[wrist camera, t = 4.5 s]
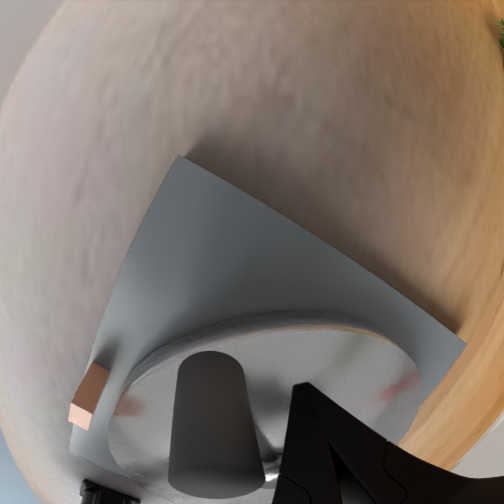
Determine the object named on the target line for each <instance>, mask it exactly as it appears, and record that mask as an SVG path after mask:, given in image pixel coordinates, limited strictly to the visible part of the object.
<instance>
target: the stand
mask: <svg viewBox="0 0 504 504" xmlns="http://www.w3.org/2000/svg"><path fill="white" fill-rule="evenodd" d="M281 310H318V311H327V312H336V313H340V314H344V315H348V316H352V317H356V318H358V319H361V320H363V321H365V322H368V323H370V324H372V325H374V326H375V327H377V328H378V329H380V330H381V331H383V332H384V333H385V334H386V335H387V336H388V337H390V338H391V339H392V340H393V341H394V342H395V343H396V344H397V345H398V346H399V347H400V348H401V349H402V350H403V351H404V352H405V353H406V354H407V355H408V356H409V357H410V358H411V359H412V361H413V362H414V363H415V365H416V367H417V368H418V370H419V372H420V376H421V381H422V396H421V401H420V405H421V404H422V403H423V402H424V401H425V400H426V398H427V397H428V396H429V395H430V394H431V392H432V391H433V390H434V389H435V388H436V386H437V385H438V384H439V383H440V381H441V380H442V379H443V378H444V376H445V375H446V374H447V372H448V371H449V370H450V368H451V367H452V366H453V364H454V363H455V361H456V360H457V359H458V357H459V356H460V354H461V353H462V351H463V350H464V348H465V347H466V345H467V343H465V342H464V341H463V340H462V339H460V338H459V337H458V336H456V335H455V334H454V333H453V332H451V331H450V330H449V329H447V328H446V327H445V326H444V325H442V324H441V323H440V322H438V321H437V320H436V319H434V318H433V317H432V316H430V315H429V314H428V313H426V312H425V311H424V310H422V309H421V308H420V307H418V306H417V305H416V304H414V303H413V302H412V301H410V300H409V299H407V298H406V297H405V296H403V295H402V294H401V293H399V292H398V291H396V290H395V289H394V288H392V287H391V286H389V285H388V284H387V283H385V282H384V281H382V280H381V279H379V278H378V277H377V276H375V275H374V274H372V273H371V272H369V271H368V270H366V269H365V268H363V267H362V266H361V265H359V264H358V263H356V262H355V261H353V260H352V259H350V258H349V257H347V256H346V255H344V254H343V253H341V252H340V251H338V250H337V249H335V248H334V247H332V246H331V245H329V244H328V243H326V242H324V241H323V240H321V239H320V238H318V237H317V236H315V235H314V234H312V233H310V232H309V231H307V230H306V229H304V228H303V227H301V226H299V225H298V224H296V223H295V222H293V221H291V220H290V219H288V218H287V217H285V216H283V215H282V214H280V213H279V212H277V211H275V210H274V209H272V208H270V207H269V206H267V205H265V204H264V203H262V202H260V201H259V200H257V199H255V198H254V197H252V196H250V195H249V194H247V193H245V192H244V191H242V190H240V189H239V188H237V187H235V186H233V185H232V184H230V183H228V182H226V181H225V180H223V179H221V178H219V177H218V176H216V175H214V174H212V173H211V172H209V171H207V170H205V169H204V168H202V167H200V166H198V165H196V164H195V163H193V162H191V161H189V160H187V159H185V158H184V157H182V156H180V155H178V156H177V158H176V159H175V161H174V163H173V165H172V166H171V168H170V170H169V172H168V173H167V175H166V177H165V179H164V181H163V182H162V184H161V186H160V188H159V190H158V192H157V194H156V196H155V197H154V199H153V201H152V203H151V205H150V207H149V209H148V211H147V213H146V215H145V217H144V219H143V221H142V223H141V225H140V227H139V229H138V232H137V234H136V236H135V238H134V240H133V242H132V245H131V247H130V249H129V251H128V254H127V256H126V258H125V260H124V263H123V265H122V267H121V270H120V272H119V275H118V277H117V280H116V282H115V285H114V287H113V290H112V292H111V295H110V298H109V300H108V303H107V306H106V308H105V311H104V314H103V317H102V320H101V323H100V325H99V328H98V331H97V334H96V338H95V341H94V344H93V347H92V350H91V354H90V357H89V361H88V364H87V368H86V371H85V375H84V378H83V380H82V382H81V384H80V386H79V388H78V390H77V392H76V394H75V396H74V398H73V400H72V402H71V407H70V412H69V418H68V421H70V422H72V423H73V429H72V434H71V440H70V447H69V452H70V453H72V454H74V455H76V456H78V457H80V458H82V459H84V460H86V461H88V462H90V463H93V464H95V465H97V466H99V467H102V468H104V469H107V470H109V471H112V472H114V473H117V474H119V475H122V476H125V477H128V478H130V477H129V476H128V475H126V474H125V473H124V472H123V470H122V469H121V468H120V467H119V465H118V464H117V463H116V461H115V459H114V457H113V455H112V454H111V451H110V447H109V444H108V427H109V423H110V419H111V416H112V413H113V410H114V407H115V404H116V401H117V398H118V395H119V392H120V389H121V388H122V386H123V384H124V382H125V381H126V379H127V377H128V376H129V375H130V374H131V372H132V371H133V370H134V369H135V368H136V367H137V366H138V364H139V363H141V362H142V361H143V360H144V359H146V358H147V357H148V356H149V355H150V354H152V353H153V352H154V351H156V350H157V349H159V348H161V347H162V346H164V345H166V344H167V343H169V342H171V341H172V340H174V339H176V338H178V337H181V336H183V335H185V334H187V333H190V332H192V331H194V330H196V329H199V328H202V327H205V326H208V325H211V324H214V323H217V322H221V321H224V320H227V319H232V318H236V317H241V316H246V315H250V314H255V313H263V312H272V311H281Z"/></svg>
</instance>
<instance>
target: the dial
mask: <svg viewBox="0 0 504 504" xmlns="http://www.w3.org/2000/svg"><path fill="white" fill-rule="evenodd" d="M302 382H310V383H311V384H312V385H314V386H315V387H316V388H317V389H319V390H320V391H321V392H323V393H324V394H325V395H326V396H328V397H329V398H330V399H332V400H333V401H334V402H336V403H337V404H338V405H340V406H341V407H342V408H344V409H345V410H346V411H348V412H349V413H350V414H352V415H353V416H355V417H356V418H357V419H359V420H360V421H361V422H363V423H364V424H366V425H367V426H369V427H370V428H371V429H373V430H374V431H376V432H377V433H379V434H380V435H381V436H383V437H384V438H386V439H387V441H391V442H392V443H393V444H395V445H397V444H398V443H399V442H400V441H401V439H402V438H403V437H404V435H405V434H406V432H407V431H408V429H409V428H410V426H411V424H412V422H413V421H414V419H415V417H416V414H417V411H418V409H419V406H420V401H421V396H422V381H421V376H420V372H419V370H418V368H417V367H416V365H415V363H414V362H413V361H412V359H411V358H410V357H409V356H408V355H407V354H406V353H405V352H404V351H403V350H402V349H401V348H400V347H399V346H398V345H397V344H396V343H395V342H394V341H393V340H392V339H391V338H390V337H388V336H387V335H386V334H385V333H384V332H383V331H381V330H380V329H378V328H377V327H375V326H374V325H372V324H370V323H368V322H365V321H363V320H361V319H358V318H356V317H352V316H348V315H344V314H340V313H336V312H327V311H318V310H281V311H272V312H263V313H255V314H250V315H246V316H241V317H236V318H232V319H227V320H224V321H221V322H217V323H214V324H211V325H208V326H205V327H202V328H199V329H196V330H194V331H192V332H190V333H187V334H185V335H183V336H181V337H178V338H176V339H174V340H172V341H171V342H169V343H167V344H166V345H164V346H162V347H161V348H159V349H157V350H156V351H154V352H153V353H152V354H150V355H149V356H148V357H147V358H146V359H144V360H143V361H142V362H141V363H139V364H138V366H137V367H136V368H135V369H134V370H133V371H132V372H131V374H130V375H129V376H128V377H127V379H126V381H125V382H124V384H123V386H122V388H121V389H120V392H119V395H118V398H117V401H116V404H115V407H114V410H113V413H112V416H111V419H110V423H109V427H108V444H109V447H110V451H111V454H112V455H113V457H114V459H115V461H116V463H117V464H118V465H119V467H120V468H121V469H122V470H123V472H124V473H125V474H126V475H128V476H129V477H130V478H131V479H132V480H133V481H134V482H136V483H137V484H138V485H140V486H141V487H143V488H144V489H146V490H148V491H149V492H151V493H153V494H155V495H157V496H159V497H161V498H164V499H166V500H169V501H171V502H174V503H177V504H271V503H272V500H273V496H274V492H275V488H276V484H277V479H278V475H279V469H280V464H281V458H282V453H283V447H284V441H285V435H286V428H287V422H288V415H289V408H290V401H291V394H292V387H293V385H294V384H298V383H302Z"/></svg>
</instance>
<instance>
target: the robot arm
mask: <svg viewBox="0 0 504 504" xmlns="http://www.w3.org/2000/svg"><path fill="white" fill-rule="evenodd" d="M80 495H81V496H82V497H83V498H82V502H81V504H140V503H141V501H140V500H137V499H134V498H131V497H128V496H125V495H122V494H119V493H116V492H113V491H110V490H108V489H105V488H103V487H100V486H98V485H95V484H93V483H91V482H88V481H85V480H83V483H82V487H81V490H80ZM271 504H504V476H499V477H491V478H468V477H464V476H460V475H457V474H455V473H452V472H450V471H447V470H445V469H442V468H440V467H437V466H435V465H432V464H430V463H428V462H426V461H423V460H421V459H419V458H417V457H415V456H413V455H411V454H410V453H408V452H406V451H405V450H403V449H401V448H400V447H398V446H396V445H395V444H393V443H392V442H391V441H387V439H386V438H384V437H383V436H381V435H380V434H379V433H377V432H376V431H374V430H373V429H371V428H370V427H369V426H367V425H366V424H364V423H363V422H361V421H360V420H359V419H357V418H356V417H355V416H353V415H352V414H350V413H349V412H348V411H346V410H345V409H344V408H342V407H341V406H340V405H338V404H337V403H336V402H334V401H333V400H332V399H330V398H329V397H328V396H326V395H325V394H324V393H323V392H321V391H320V390H319V389H317V388H316V387H315V386H314V385H312V384H311V383H310V382H302V383H298V384H294V385H293V387H292V394H291V401H290V408H289V415H288V422H287V428H286V435H285V441H284V447H283V453H282V458H281V464H280V469H279V475H278V479H277V484H276V488H275V492H274V496H273V500H272V503H271Z"/></svg>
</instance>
